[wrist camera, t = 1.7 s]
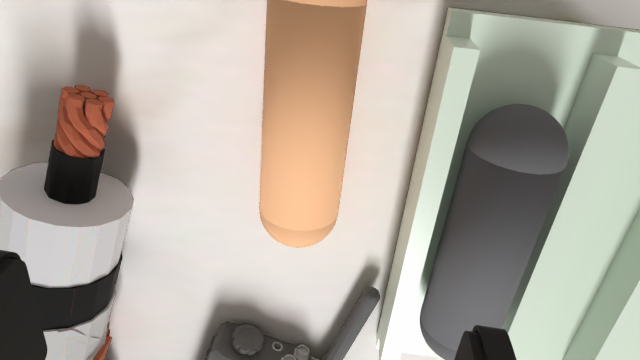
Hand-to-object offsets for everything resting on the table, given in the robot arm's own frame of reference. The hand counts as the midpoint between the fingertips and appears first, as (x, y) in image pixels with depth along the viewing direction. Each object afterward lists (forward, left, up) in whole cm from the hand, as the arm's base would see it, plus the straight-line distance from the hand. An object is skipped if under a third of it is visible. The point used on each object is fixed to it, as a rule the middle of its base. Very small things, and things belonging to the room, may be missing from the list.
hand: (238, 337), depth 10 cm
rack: (+5, +14, -15) cm, 21 cm away
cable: (+16, -15, -15) cm, 27 cm away
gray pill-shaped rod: (+5, +9, -12) cm, 15 cm away
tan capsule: (0, 0, -13) cm, 13 cm away
